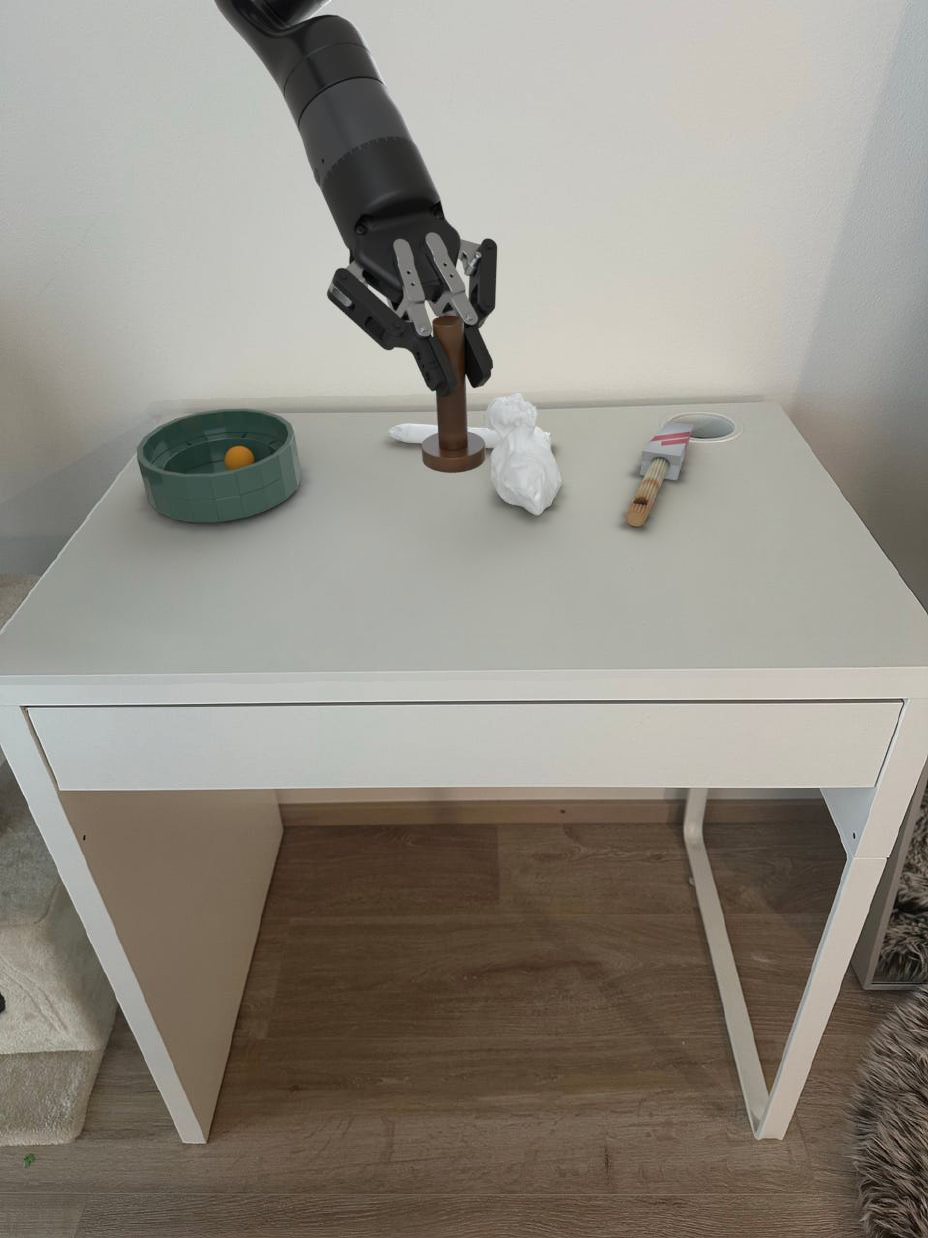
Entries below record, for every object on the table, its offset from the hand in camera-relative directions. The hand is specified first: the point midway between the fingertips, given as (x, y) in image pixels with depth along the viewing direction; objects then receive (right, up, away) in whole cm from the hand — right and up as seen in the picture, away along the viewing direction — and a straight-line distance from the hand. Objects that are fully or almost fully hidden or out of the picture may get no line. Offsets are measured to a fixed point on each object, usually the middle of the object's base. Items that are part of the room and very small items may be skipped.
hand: (466, 385), depth 65 cm
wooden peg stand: (-1, -4, +5) cm, 7 cm away
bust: (+6, -4, +27) cm, 28 cm away
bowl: (-24, -3, +30) cm, 39 cm away
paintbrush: (+19, -2, +29) cm, 35 cm away
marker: (0, +2, +36) cm, 36 cm away
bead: (-23, 0, +31) cm, 38 cm away
